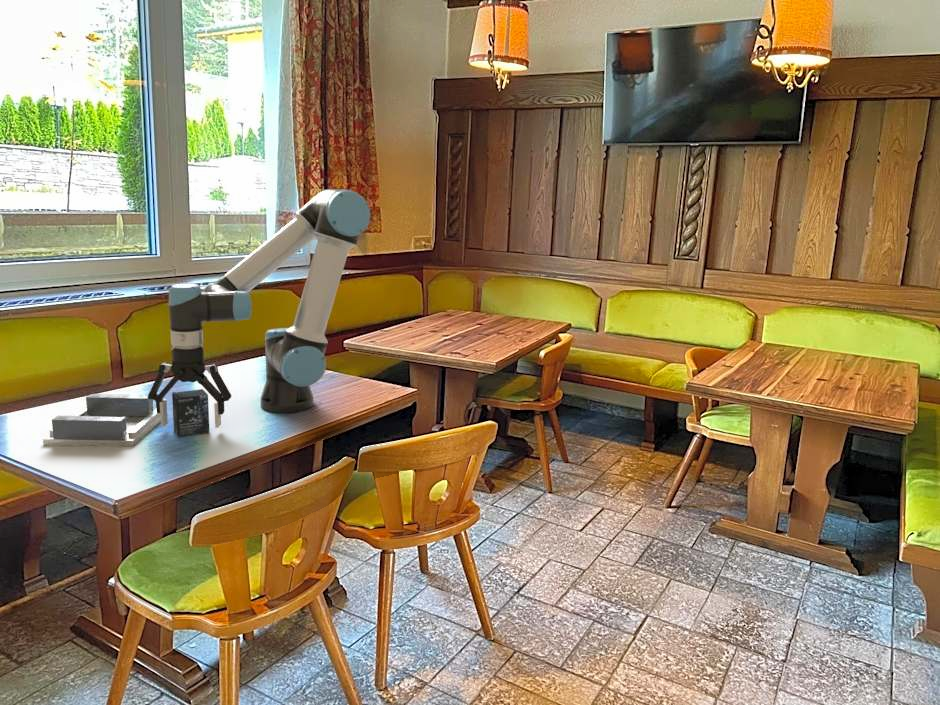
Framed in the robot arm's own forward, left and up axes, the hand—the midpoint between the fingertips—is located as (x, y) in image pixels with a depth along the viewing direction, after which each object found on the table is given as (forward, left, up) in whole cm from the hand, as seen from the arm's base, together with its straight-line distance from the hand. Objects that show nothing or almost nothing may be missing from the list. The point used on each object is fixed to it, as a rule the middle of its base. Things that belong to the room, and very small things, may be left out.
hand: (191, 425), depth 182 cm
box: (0, 0, -2) cm, 2 cm away
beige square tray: (+21, 0, -2) cm, 21 cm away
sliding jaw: (+21, -8, 0) cm, 22 cm away
